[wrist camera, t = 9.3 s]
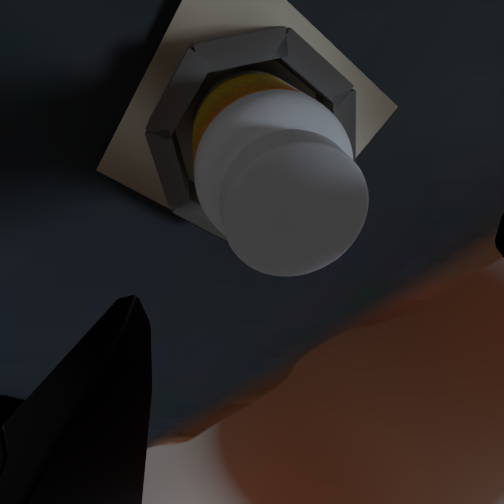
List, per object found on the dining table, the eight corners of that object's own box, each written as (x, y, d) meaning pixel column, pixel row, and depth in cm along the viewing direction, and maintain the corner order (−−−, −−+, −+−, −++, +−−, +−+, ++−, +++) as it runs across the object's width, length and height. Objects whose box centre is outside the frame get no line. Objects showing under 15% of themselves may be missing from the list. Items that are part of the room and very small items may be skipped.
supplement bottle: (174, 153, 17) (161, 263, 9) (222, 42, 15) (260, 61, 7) (266, 196, 19) (321, 316, 11) (320, 104, 17) (436, 173, 9)
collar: (267, 254, 23) (278, 286, 20) (99, 164, 18) (83, 189, 15) (390, 103, 19) (425, 117, 16) (214, -63, 14) (221, -85, 11)
